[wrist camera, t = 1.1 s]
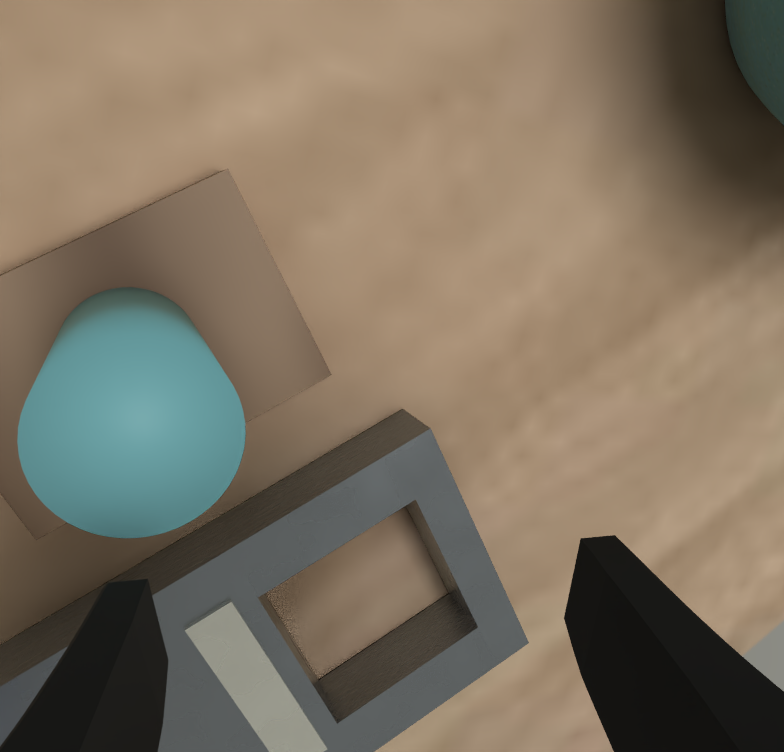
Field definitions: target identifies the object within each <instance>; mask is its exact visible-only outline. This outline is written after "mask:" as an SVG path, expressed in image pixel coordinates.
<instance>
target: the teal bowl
mask: <svg viewBox="0 0 784 752" xmlns="http://www.w3.org/2000/svg"><path fill="white" fill-rule="evenodd" d="M725 11H726V23H727V29H728V34H729V39H730V44H731V47H732V50H733V53H734V56H735V59H736V62H737V64H738V66H739V68H740V70H741V72H742V74H743V76H744V78H745V80H746V81H747V83H748V85H749V86H750V88H751V89H752V90H753V92H754V93H755V94H756V95H757V97H758V98H759V99H760V100H761V102H762V103H763V104H764V105H765V106H766V108H767V109H768V110H769V111H770V112H771V113H772V114H773V115H774V116H775V117H776V118H777V119H778V120H779V121H780V122H781V123H782V124H783V125H784V0H725Z"/></svg>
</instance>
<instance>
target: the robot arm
mask: <svg viewBox="0 0 784 752" xmlns="http://www.w3.org/2000/svg"><path fill="white" fill-rule="evenodd" d="M564 619H565V623H566V626H567V630H568V633H569V637H570V640H571V644H572V647H573V651H574V654H575V657H576V660H577V663H578V666H579V670H580V673H581V676H582V678H583V681H584V683H585V686H586V688H587V690H588V693H589V695H590V697H591V700H592V702H593V704H594V707H595V709H596V711H597V714H598V716H599V718H600V721H601V723H602V725H603V728H604V730H605V732H606V735H607V737H608V739H609V741H610V744H611V746H612V748H613V751H614V752H784V691H782V690H781V689H780V688H779V687H777V686H776V685H775V684H774V683H773V682H771V681H770V680H769V679H768V678H767V677H766V676H764V675H763V674H762V673H761V672H760V671H758V670H757V669H756V668H755V667H753V665H751V664H750V663H749V662H748V661H747V660H745V659H744V658H743V657H742V656H741V655H740V654H739V653H738V652H736V651H735V650H734V649H733V648H732V647H731V646H730V645H729V644H727V643H726V642H725V641H724V640H723V639H722V638H721V637H720V636H719V635H718V634H717V633H715V632H714V631H713V630H712V629H711V628H710V627H709V626H708V625H707V624H706V623H705V622H704V621H702V620H701V619H700V618H699V617H698V616H697V615H696V614H695V613H694V612H693V611H692V610H691V609H690V608H689V607H688V606H686V605H685V604H684V603H683V602H682V601H681V600H680V599H679V598H678V597H677V596H676V595H675V594H674V593H673V592H672V591H671V590H670V589H669V588H668V587H667V586H666V585H665V584H664V583H663V582H662V581H661V580H660V579H659V578H658V577H657V576H656V575H655V574H654V573H653V572H652V571H651V570H650V569H649V568H648V567H647V566H646V565H645V564H644V563H643V562H642V561H641V560H640V559H639V558H637V557H636V556H635V555H634V554H633V553H632V552H631V551H630V550H629V549H628V548H627V547H626V546H625V545H624V544H623V543H622V542H621V541H620V540H619V539H618V538H617V537H616V536H615V535H613V536H603V537H592V538H581V540H580V545H579V550H578V554H577V559H576V564H575V569H574V573H573V578H572V583H571V588H570V592H569V597H568V602H567V607H566V612H565V616H564ZM168 661H169V660H168V656H167V652H166V648H165V644H164V640H163V636H162V633H161V629H160V625H159V621H158V617H157V613H156V609H155V605H154V601H153V597H152V593H151V589H150V585H149V581H148V579H141V580H130V581H120V582H109V583H108V584H106V585H105V586H104V587H103V588H102V590H101V592H100V594H99V595H98V597H97V599H96V601H95V602H94V604H93V606H92V608H91V609H90V611H89V613H88V614H87V616H86V618H85V619H84V621H83V623H82V624H81V626H80V628H79V629H78V631H77V633H76V634H75V636H74V638H73V639H72V641H71V642H70V644H69V646H68V647H67V649H66V650H65V652H64V654H63V655H62V657H61V658H60V660H59V662H58V663H57V665H56V666H55V668H54V669H53V671H52V672H51V674H50V675H49V677H48V678H47V680H46V681H45V683H44V684H43V686H42V687H41V689H40V690H39V692H38V693H37V695H36V696H35V698H34V699H33V701H32V702H31V704H30V705H29V707H28V708H27V710H26V711H25V713H24V714H23V716H22V717H21V718H20V720H19V721H18V723H17V724H16V726H15V727H14V728H13V730H12V731H11V732H10V734H9V735H8V736H7V738H6V739H5V741H4V742H3V743H2V745H1V746H0V752H158V748H159V742H160V737H161V732H162V727H163V718H164V708H165V697H166V685H167V673H168Z"/></svg>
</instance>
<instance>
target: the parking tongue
mask: <svg viewBox="0 0 784 752" xmlns="http://www.w3.org/2000/svg"><path fill="white" fill-rule="evenodd" d="M121 287H134V288H142V289H147V290H151V291H154V292H156V293H159V294H161V295H163V296H165V297H167V298H169V299H170V300H172V301H173V302H175V303H176V304H177V305H178V306H179V307H181V308H182V309H183V310H184V311H185V313H186V314H187V315H188V316H189V318H190V319H191V321H192V322H193V324H194V325H195V327H196V328H197V330H198V331H199V333H200V335H201V336H202V338H203V339H204V341H205V342H206V344H207V345H208V347H209V349H210V350H211V352H212V353H213V355H214V356H215V358H216V359H217V361H218V363H219V364H220V366H221V367H222V369H223V370H224V372H225V374H226V375H227V377H228V378H229V380H230V381H231V383H232V384H233V386H234V388H235V390H236V392H237V394H238V396H239V399H240V402H241V405H242V408H243V413H244V419H245V423H246V422H248V421H250V420H252V419H253V418H255V417H257V416H259V415H261V414H262V413H264V412H266V411H268V410H270V409H271V408H273V407H275V406H277V405H278V404H280V403H282V402H284V401H286V400H287V399H289V398H291V397H293V396H294V395H296V394H298V393H300V392H302V391H303V390H305V389H307V388H309V387H311V386H312V385H314V384H316V383H318V382H319V381H321V380H323V379H325V378H327V377H328V376H330V375H331V373H330V371H329V369H328V367H327V365H326V363H325V361H324V359H323V357H322V355H321V353H320V351H319V349H318V347H317V345H316V343H315V341H314V339H313V337H312V335H311V333H310V331H309V329H308V327H307V325H306V323H305V321H304V319H303V317H302V315H301V313H300V311H299V309H298V307H297V305H296V303H295V301H294V299H293V297H292V295H291V293H290V291H289V289H288V287H287V285H286V283H285V281H284V279H283V277H282V275H281V273H280V271H279V269H278V267H277V265H276V263H275V261H274V259H273V257H272V255H271V253H270V251H269V249H268V247H267V245H266V243H265V241H264V239H263V237H262V235H261V233H260V231H259V229H258V227H257V225H256V223H255V222H254V220H253V218H252V216H251V214H250V212H249V210H248V208H247V206H246V204H245V202H244V200H243V198H242V196H241V194H240V192H239V190H238V188H237V186H236V184H235V182H234V180H233V178H232V176H231V174H230V172H229V170H228V169H226V170H223V171H221V172H218V173H216V174H214V175H212V176H210V177H208V178H206V179H204V180H201V181H199V182H197V183H195V184H193V185H191V186H189V187H187V188H184V189H182V190H180V191H178V192H176V193H174V194H172V195H170V196H167V197H165V198H163V199H161V200H159V201H157V202H155V203H153V204H150V205H148V206H146V207H144V208H142V209H140V210H138V211H136V212H133V213H131V214H129V215H127V216H125V217H123V218H121V219H119V220H116V221H114V222H112V223H110V224H108V225H106V226H104V227H102V228H99V229H97V230H95V231H93V232H91V233H89V234H87V235H85V236H82V237H80V238H78V239H76V240H74V241H72V242H70V243H68V244H66V245H63V246H61V247H59V248H57V249H55V250H53V251H51V252H49V253H46V254H44V255H42V256H40V257H38V258H36V259H34V260H32V261H29V262H27V263H25V264H23V265H21V266H19V267H17V268H15V269H12V270H10V271H8V272H6V273H4V274H2V275H0V493H1V494H2V496H3V497H4V498H5V500H6V501H7V502H8V504H9V505H10V506H11V508H12V509H13V510H14V512H15V513H16V514H17V516H18V517H19V518H20V520H21V521H22V522H23V524H24V525H25V526H26V528H27V529H28V530H29V532H30V533H31V534H32V536H33V537H34V538H35V539H36V540H37V539H39V538H41V537H43V536H45V535H46V534H48V533H50V532H52V531H54V530H55V529H57V528H59V527H61V526H62V525H64V524H66V523H67V522H66V521H64V520H63V519H61V518H60V517H58V516H57V515H55V514H54V513H53V512H52V511H51V510H50V509H48V508H47V507H46V506H45V505H44V504H43V503H42V501H41V500H40V499H39V498H38V497H37V496H36V494H35V493H34V491H33V490H32V488H31V486H30V485H29V483H28V481H27V479H26V477H25V474H24V472H23V470H22V466H21V462H20V458H19V453H18V443H17V439H18V426H19V421H20V416H21V412H22V409H23V407H24V404H25V401H26V399H27V397H28V395H29V393H30V391H31V388H32V386H33V384H34V382H35V380H36V378H37V376H38V374H39V372H40V370H41V368H42V366H43V364H44V362H45V360H46V358H47V355H48V353H49V351H50V349H51V347H52V345H53V343H54V341H55V339H56V337H57V335H58V333H59V331H60V329H61V327H62V325H63V323H64V321H65V320H66V318H67V317H68V316H69V314H70V313H71V312H72V311H73V310H74V309H75V308H76V307H77V306H78V305H79V304H80V303H82V302H83V301H84V300H86V299H88V298H89V297H91V296H93V295H95V294H97V293H100V292H102V291H106V290H109V289H114V288H121Z"/></svg>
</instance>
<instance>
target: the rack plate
mask: <svg viewBox="0 0 784 752" xmlns="http://www.w3.org/2000/svg"><path fill="white" fill-rule="evenodd" d="M404 506H406V508H407V510H408V512H409V514H410V516H411V518H412V520H413V522H414V524H415V526H416V528H417V530H418V532H419V534H420V536H421V538H422V540H423V542H424V544H425V546H426V548H427V550H428V552H429V554H430V556H431V558H432V560H433V562H434V564H435V566H436V568H437V570H438V572H439V574H440V576H441V578H442V580H443V582H444V584H445V586H446V588H447V590H448V592H449V594H448V595H446V596H445V597H443V598H441V599H440V600H438V601H437V602H435V603H434V604H432V605H431V606H429V607H428V608H426V609H425V610H423V611H422V612H420V613H419V614H417V615H416V616H414V617H413V618H411V619H410V620H408V621H407V622H405V623H404V624H402V625H401V626H399V627H398V628H396V629H395V630H393V631H392V632H390V633H389V634H387V635H386V636H384V637H383V638H381V639H380V640H378V641H377V642H375V643H374V644H372V645H371V646H369V647H368V648H366V649H365V650H363V651H362V652H360V653H359V654H357V655H356V656H354V657H353V658H351V659H350V660H348V661H347V662H345V663H344V664H342V665H341V666H339V667H338V668H336V669H335V670H333V671H332V672H330V673H329V674H327V675H326V676H324V677H323V678H321V679H320V680H318V678H317V676H316V675H315V673H314V672H313V670H312V668H311V667H310V665H309V664H308V662H307V660H306V659H305V657H304V656H303V654H302V652H301V651H300V649H299V648H298V646H297V644H296V643H295V641H294V640H293V638H292V636H291V635H290V633H289V632H288V630H287V628H286V627H285V625H284V624H283V622H282V620H281V619H280V617H279V616H278V614H277V612H276V611H275V609H274V608H273V606H272V604H271V603H270V601H269V600H268V598H267V596H266V595H265V593H266V592H268V591H269V590H271V589H273V588H274V587H276V586H277V585H279V584H281V583H282V582H284V581H286V580H287V579H289V578H290V577H292V576H294V575H295V574H297V573H298V572H300V571H302V570H303V569H305V568H306V567H308V566H310V565H311V564H313V563H314V562H316V561H318V560H319V559H321V558H322V557H324V556H326V555H327V554H329V553H331V552H332V551H334V550H335V549H337V548H339V547H340V546H342V545H343V544H345V543H347V542H348V541H350V540H351V539H353V538H355V537H356V536H358V535H359V534H361V533H363V532H364V531H366V530H367V529H369V528H371V527H372V526H374V525H376V524H377V523H379V522H380V521H382V520H384V519H385V518H387V517H388V516H390V515H392V514H393V513H395V512H396V511H398V510H400V509H401V508H403V507H404ZM141 579H148V581H149V585H150V589H151V593H152V597H153V601H154V605H155V609H156V613H157V617H158V621H159V625H160V629H161V633H162V636H163V640H164V644H165V648H166V652H167V656H168V660H169V661H168V673H167V685H166V697H165V708H164V718H163V727H162V732H161V737H160V742H159V748H158V752H374V751H376V750H377V749H379V748H380V747H381V746H383V745H384V744H386V743H387V742H389V741H390V740H391V739H393V738H394V737H396V736H397V735H398V734H400V733H401V732H403V731H404V730H406V729H407V728H408V727H410V726H411V725H413V724H414V723H416V722H417V721H418V720H420V719H421V718H423V717H424V716H426V715H427V714H428V713H430V712H431V711H433V710H434V709H435V708H437V707H438V706H440V705H441V704H443V703H444V702H445V701H447V700H448V699H450V698H451V697H453V696H454V695H455V694H457V693H458V692H460V691H461V690H463V689H464V688H465V687H467V686H468V685H470V684H471V683H472V682H474V681H475V680H477V679H478V678H480V677H481V676H482V675H484V674H485V673H487V672H488V671H490V670H491V669H492V668H494V667H495V666H497V665H498V664H500V663H501V662H502V661H504V660H505V659H507V658H508V657H509V656H511V655H512V654H514V653H515V652H517V651H518V650H519V649H521V648H522V647H524V646H525V645H527V644H528V643H529V642H528V640H527V638H526V636H525V633H524V631H523V629H522V627H521V625H520V623H519V620H518V618H517V616H516V614H515V612H514V609H513V607H512V605H511V603H510V601H509V599H508V596H507V594H506V592H505V590H504V588H503V585H502V583H501V581H500V579H499V577H498V575H497V572H496V570H495V568H494V566H493V564H492V561H491V559H490V557H489V555H488V553H487V551H486V548H485V546H484V544H483V542H482V540H481V538H480V535H479V533H478V531H477V529H476V527H475V524H474V522H473V520H472V518H471V516H470V514H469V511H468V509H467V507H466V505H465V503H464V500H463V498H462V496H461V494H460V492H459V490H458V487H457V485H456V483H455V481H454V479H453V476H452V474H451V472H450V470H449V468H448V466H447V463H446V461H445V459H444V457H443V455H442V452H441V450H440V448H439V446H438V444H437V442H436V439H435V437H434V435H433V433H432V431H431V429H430V428H429V427H428V426H426V425H425V424H423V423H422V422H421V421H419V420H418V419H416V418H415V417H414V416H412V415H411V414H409V413H408V412H406V411H405V410H404V409H402V410H400V411H399V412H397V413H395V414H393V415H392V416H390V417H388V418H387V419H385V420H383V421H382V422H380V423H378V424H376V425H375V426H373V427H371V428H370V429H368V430H366V431H364V432H363V433H361V434H359V435H358V436H356V437H354V438H353V439H351V440H349V441H347V442H346V443H344V444H342V445H341V446H339V447H337V448H336V449H334V450H332V451H330V452H329V453H327V454H325V455H324V456H322V457H320V458H318V459H317V460H315V461H313V462H312V463H310V464H308V465H307V466H305V467H303V468H301V469H300V470H298V471H296V472H295V473H293V474H291V475H290V476H288V477H286V478H284V479H283V480H281V481H279V482H278V483H276V484H274V485H272V486H271V487H269V488H267V489H266V490H264V491H262V492H261V493H259V494H257V495H255V496H254V497H252V498H250V499H249V500H247V501H245V502H244V503H242V504H240V505H238V506H237V507H235V508H233V509H232V510H230V511H228V512H226V513H225V514H223V515H221V516H220V517H218V518H216V519H215V520H213V521H211V522H209V523H208V524H206V525H204V526H203V527H201V528H199V529H198V530H196V531H194V532H192V533H191V534H189V535H187V536H186V537H184V538H182V539H180V540H179V541H177V542H175V543H174V544H172V545H170V546H169V547H167V548H165V549H163V550H162V551H160V552H158V553H157V554H155V555H153V556H152V557H150V558H148V559H146V560H145V561H143V562H141V563H140V564H138V565H136V566H134V567H133V568H131V569H129V570H128V571H126V572H124V573H123V574H121V575H119V576H117V577H116V578H114V579H112V580H111V581H109V582H120V581H130V580H141ZM109 582H107V583H105V584H104V585H102V586H100V587H99V588H97V589H95V590H94V591H92V592H90V593H88V594H87V595H85V596H83V597H82V598H80V599H78V600H77V601H75V602H73V603H71V604H70V605H68V606H66V607H65V608H63V609H61V610H59V611H58V612H56V613H54V614H53V615H51V616H49V617H48V618H46V619H44V620H42V621H41V622H39V623H37V624H36V625H34V626H32V627H31V628H29V629H27V630H25V631H24V632H22V633H20V634H19V635H17V636H15V637H13V638H12V639H10V640H8V641H7V642H5V643H3V644H2V645H0V746H1V745H2V743H3V742H4V741H5V739H6V738H7V736H8V735H9V734H10V732H11V731H12V730H13V728H14V727H15V726H16V724H17V723H18V721H19V720H20V718H21V717H22V716H23V714H24V713H25V711H26V710H27V708H28V707H29V705H30V704H31V702H32V701H33V699H34V698H35V696H36V695H37V693H38V692H39V690H40V689H41V687H42V686H43V684H44V683H45V681H46V680H47V678H48V677H49V675H50V674H51V672H52V671H53V669H54V668H55V666H56V665H57V663H58V662H59V660H60V658H61V657H62V655H63V654H64V652H65V650H66V649H67V647H68V646H69V644H70V642H71V641H72V639H73V638H74V636H75V634H76V633H77V631H78V629H79V628H80V626H81V624H82V623H83V621H84V619H85V618H86V616H87V614H88V613H89V611H90V609H91V608H92V606H93V604H94V602H95V601H96V599H97V597H98V595H99V594H100V592H101V590H102V588H103V587H104V586H105V585H106V584H108V583H109Z"/></svg>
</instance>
